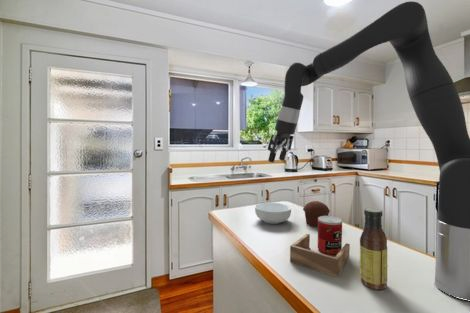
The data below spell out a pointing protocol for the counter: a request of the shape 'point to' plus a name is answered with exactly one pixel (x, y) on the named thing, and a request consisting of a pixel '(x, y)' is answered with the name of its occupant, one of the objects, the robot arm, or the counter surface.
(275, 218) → the cereal bowl
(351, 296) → the counter surface
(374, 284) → the sauce bottle
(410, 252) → the counter surface
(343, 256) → the wooden u-shaped frame
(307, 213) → the muffin
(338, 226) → the canned food
